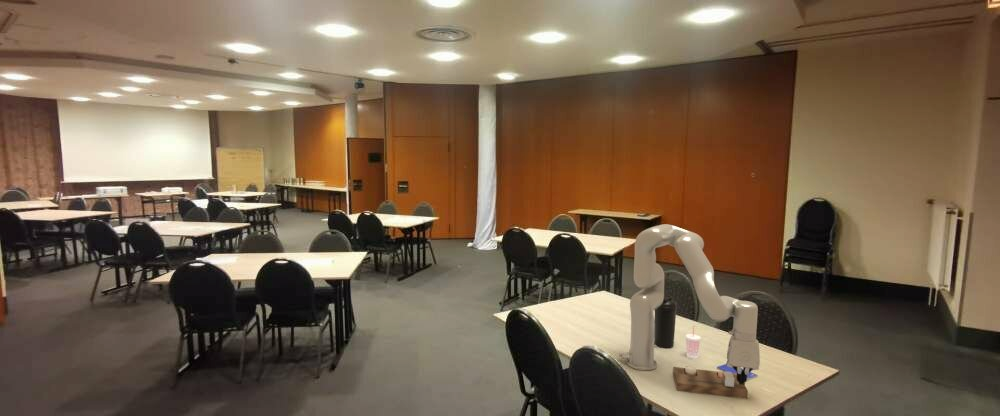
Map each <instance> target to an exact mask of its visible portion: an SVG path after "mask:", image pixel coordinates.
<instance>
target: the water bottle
mask: <svg viewBox="0 0 1000 416" xmlns="http://www.w3.org/2000/svg"><path fill="white" fill-rule="evenodd" d="M673 298H674V296H671V295H669V294H668V295H667V294H664V299H663V303H662V304H661V306H659V307H658V308H657V309H655V310H654V321H655V334H654V346H656V347H658V348H660V349H672V348H674V346H675V345H674V343H675V332H676V319H677V316H676V315H677V310H678V304H677V303H676V301H675V300H673Z"/></svg>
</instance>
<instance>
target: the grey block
mask: <svg viewBox="0 0 1000 416" xmlns="http://www.w3.org/2000/svg"><path fill="white" fill-rule="evenodd" d="M721 372H722V381H723V383H724V385H725V386H728V387H734V376H733V375H732V373H731V372H726V371H721Z"/></svg>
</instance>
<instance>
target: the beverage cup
mask: <svg viewBox="0 0 1000 416" xmlns="http://www.w3.org/2000/svg"><path fill="white" fill-rule="evenodd" d="M701 339H702V338H701V336H700V335H697V334H695V325H693V326H692V333H687V334H686V335H685V340H686V343H685V344H686V345H685V346H686V348H685V349H686V357H688V358H689V359H698V357H699V351H700V350H699V349H700V342H701Z"/></svg>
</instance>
